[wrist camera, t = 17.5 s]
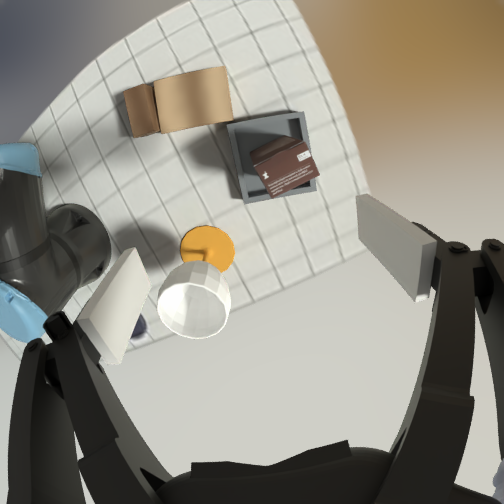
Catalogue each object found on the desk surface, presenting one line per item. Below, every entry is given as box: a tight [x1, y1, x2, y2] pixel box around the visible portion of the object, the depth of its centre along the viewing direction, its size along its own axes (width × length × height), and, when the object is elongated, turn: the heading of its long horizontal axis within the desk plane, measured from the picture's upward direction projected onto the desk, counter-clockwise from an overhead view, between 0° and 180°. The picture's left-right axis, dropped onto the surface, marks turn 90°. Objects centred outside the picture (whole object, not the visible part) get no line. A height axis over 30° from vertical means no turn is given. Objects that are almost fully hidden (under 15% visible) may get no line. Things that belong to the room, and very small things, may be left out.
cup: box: [157, 226, 235, 339], centre depth 37 cm, size 9×9×16 cm
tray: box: [227, 112, 317, 204], centre depth 37 cm, size 11×12×2 cm
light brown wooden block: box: [154, 66, 234, 134], centre depth 33 cm, size 10×8×3 cm
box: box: [250, 135, 320, 199], centre depth 32 cm, size 6×4×12 cm
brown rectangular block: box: [123, 84, 161, 138], centre depth 32 cm, size 3×7×5 cm, turn 11°
